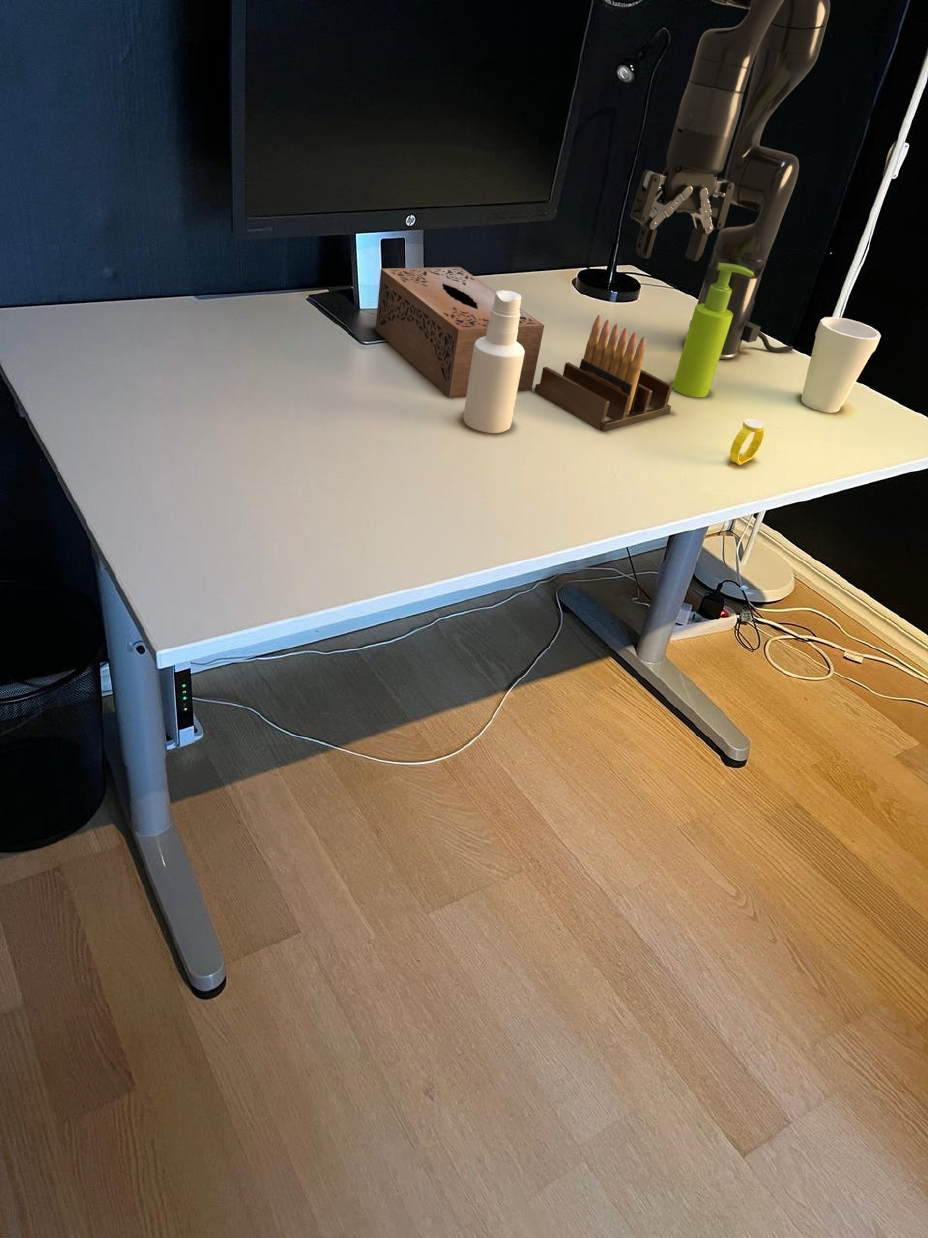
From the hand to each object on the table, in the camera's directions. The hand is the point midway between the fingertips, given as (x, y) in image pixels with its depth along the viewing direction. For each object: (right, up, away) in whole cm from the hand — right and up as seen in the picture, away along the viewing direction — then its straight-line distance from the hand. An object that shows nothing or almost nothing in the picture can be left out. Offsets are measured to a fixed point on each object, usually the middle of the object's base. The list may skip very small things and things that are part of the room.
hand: (667, 257), depth 128 cm
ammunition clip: (-7, -17, +15) cm, 23 cm away
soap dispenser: (+9, -12, +24) cm, 29 cm away
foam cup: (+31, -14, +27) cm, 44 cm away
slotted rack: (-7, -16, +15) cm, 23 cm away
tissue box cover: (-30, -8, +20) cm, 37 cm away
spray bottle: (-25, -22, +3) cm, 33 cm away
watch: (+12, -27, +5) cm, 30 cm away
